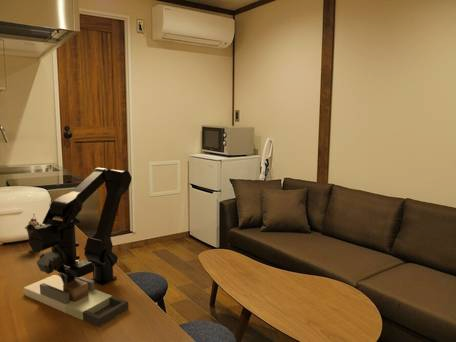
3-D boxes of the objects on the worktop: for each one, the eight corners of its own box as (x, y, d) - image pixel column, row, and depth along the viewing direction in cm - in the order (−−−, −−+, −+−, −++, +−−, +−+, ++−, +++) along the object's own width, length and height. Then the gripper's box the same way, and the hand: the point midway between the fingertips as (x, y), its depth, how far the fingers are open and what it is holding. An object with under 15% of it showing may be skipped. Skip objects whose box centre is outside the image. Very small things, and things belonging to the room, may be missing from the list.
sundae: (39, 246, 164) (37, 211, 161) (47, 250, 159) (45, 214, 157) (23, 250, 159) (20, 215, 156) (31, 254, 154) (28, 218, 152)
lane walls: (94, 289, 122) (94, 281, 121) (66, 304, 113) (65, 294, 112) (69, 280, 127) (68, 272, 127) (40, 293, 119) (39, 284, 118)
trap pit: (128, 309, 115) (128, 301, 115) (99, 327, 106) (98, 319, 106) (112, 303, 119) (112, 295, 118) (83, 320, 109) (82, 312, 109)
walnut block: (88, 295, 118) (87, 282, 117) (74, 302, 114) (73, 289, 113) (77, 290, 121) (77, 278, 120) (63, 297, 116) (62, 285, 116)
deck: (112, 303, 119) (112, 295, 118) (83, 320, 109) (82, 312, 109) (54, 281, 132) (54, 274, 132) (24, 294, 123) (23, 287, 122)
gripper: (21, 242, 115) (25, 291, 118) (61, 256, 105) (64, 309, 108) (55, 232, 124) (57, 277, 127) (94, 244, 115) (96, 293, 117)
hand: (67, 288), depth 120 cm, fingers closed
